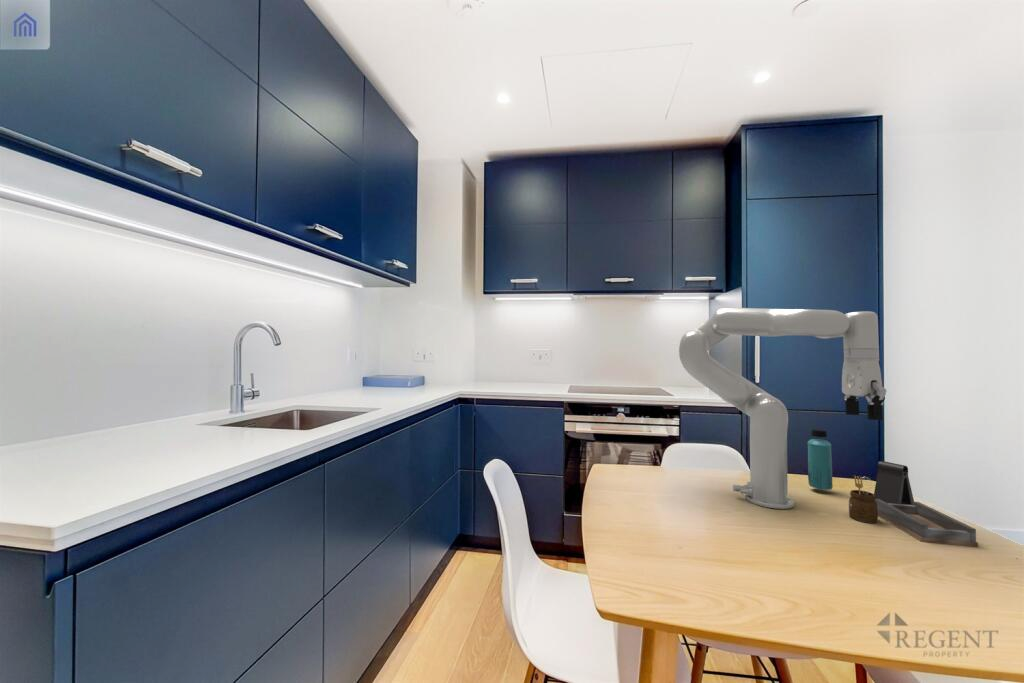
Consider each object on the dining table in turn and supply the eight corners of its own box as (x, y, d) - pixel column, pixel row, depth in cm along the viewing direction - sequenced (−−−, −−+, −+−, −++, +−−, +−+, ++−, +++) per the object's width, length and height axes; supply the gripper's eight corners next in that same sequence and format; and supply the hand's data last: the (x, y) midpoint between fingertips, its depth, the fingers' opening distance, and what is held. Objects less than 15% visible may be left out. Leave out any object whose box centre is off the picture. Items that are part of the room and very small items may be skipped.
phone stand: (890, 498, 126) (889, 459, 126) (914, 505, 120) (914, 464, 120) (872, 502, 122) (871, 462, 123) (897, 509, 117) (896, 467, 117)
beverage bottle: (838, 495, 128) (837, 431, 129) (817, 494, 129) (816, 431, 129) (822, 488, 135) (821, 427, 136) (802, 487, 135) (801, 427, 136)
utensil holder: (881, 520, 109) (880, 475, 109) (872, 525, 105) (872, 479, 106) (853, 513, 114) (852, 470, 114) (844, 517, 110) (844, 473, 111)
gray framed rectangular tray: (920, 541, 97) (920, 524, 97) (873, 512, 114) (872, 498, 114) (977, 546, 94) (977, 529, 94) (920, 516, 111) (919, 502, 112)
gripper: (828, 355, 123) (830, 412, 122) (865, 355, 106) (868, 421, 105) (857, 355, 121) (859, 413, 121) (899, 355, 104) (902, 422, 104)
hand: (863, 417), depth 113 cm, fingers open, 9 cm apart
